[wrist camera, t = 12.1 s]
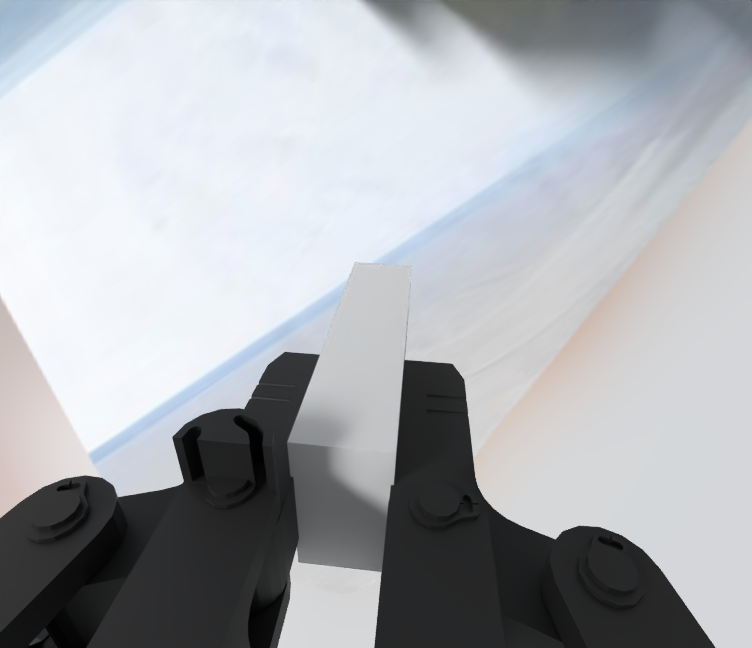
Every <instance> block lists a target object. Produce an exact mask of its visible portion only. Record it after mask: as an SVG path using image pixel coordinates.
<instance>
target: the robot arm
mask: <svg viewBox="0 0 752 648" xmlns="http://www.w3.org/2000/svg"><path fill="white" fill-rule="evenodd" d="M411 271H412V266H403V265H387V264H372V263H357V262H355V263H354V266H353V269H352V271H351V274H350V277H349V279H348V282H347V285H346V287H345V290H344V292H343V295H342V298H341V300H340V303H339V306H338V308H337V311H336V314H335V316H334V319H333V322H332V324H331V327H330V330H329V332H328V335H327V338H326V340H325V343H324V346H323V348H322V351H321V354H320V355H316V354H304V353H291V352H284V353H283V354H282V355H280V356H279V357H278V358H277V359H275V360H274V361H273V362H271V363H270V364H269V365H268V366H267V368H266V370H265V372H264V373H263V375H262V377H261V379H260V381H259V385H257V386H256V388H255V390H254V392H253V394H252V398H251V399H249V401H248V403H247V405H246V407H245V409H240V408H238V409H220V410H217V411H213V412H210V413H206V414H203V415H201V416H199V417H197V418H195V419H194V420H192V421H190V422H188V423H187V424H185V425H184V426H183V427H182V428H181V429H180V430H179V431H178V432H177V433H176V434H175V435H174V436H173V437H172V438H173V442H174V445H175V449H176V453H177V457H178V461H179V464H180V468H181V472H182V476H183V479H184V482H183V484H181V485H178V486H176V487H172V488H168V489H164V490H159V491H153V492H147V493H141V494H135V495H129V496H123V497H118V496H117V494H116V491H115V488H114V486H113V485H112V484H110V483H109V482H107V481H106V480H105V479H103V478H99V477H92V476H80V477H73V478H66V479H63V480H60V481H58V482H55V483H53V484H50V485H48V486H45V487H43V488H41V489H40V490H38V491H37V492H35V493H33V494H32V495H30V496H29V497H27V498H26V499H24V500H23V501H21V502H20V503H19V504H17V505H16V506H15V507H14V508H13V509H11V510H10V511H9V512H8V513H6V514H5V515H4V516H3V517H1V518H0V648H277V646H278V642H279V639H280V634H281V631H282V626H283V623H284V619H285V615H286V611H287V607H288V604H289V600H290V587H291V586H290V585H291V582H290V569H291V566H292V562H293V558H294V555H295V551H296V547H297V551H298V562H301V563H310V564H318V565H327V566H336V567H344V568H353V569H362V570H370V571H379V572H382V574H381V585H380V595H379V606H378V617H377V626H376V637H375V647H374V648H715V646H714V645H713V643H712V642H711V641H710V639H709V638H708V636H707V635H706V633H705V632H704V631H703V629H702V628H701V626H700V625H699V624H698V622H697V621H696V619H695V618H694V616H693V615H692V613H691V612H690V611H689V609H688V608H687V606H686V605H685V603H684V602H683V601H682V599H681V598H680V596H679V595H678V594H677V592H676V591H675V589H674V588H673V586H672V585H671V584H670V582H669V581H668V579H667V578H666V577H665V575H664V574H663V572H662V571H661V569H660V568H659V567H658V566H657V565H656V564H655V563H654V562H653V560H652V559H651V558H650V557H649V556H648V555H647V554H646V553H645V552H644V551H643V550H642V549H641V548H639V547H638V546H636V545H635V544H633V543H632V542H631V541H629V540H628V539H626V538H625V537H623V536H622V535H619V534H616V533H614V532H611V531H609V530H606V529H603V528H601V527H589V526H577V527H574V528H571V529H568V530H566V531H563V532H562V533H561V534H560V535H559V537H558V538H557V539H556V540H555V539H553V538H550V537H548V536H545V535H542V534H540V533H538V532H535V531H533V530H530V529H527V528H525V527H522V526H520V525H518V524H516V523H514V522H512V521H510V520H508V519H506V518H505V517H504V516H502V515H501V514H499V513H498V512H497V511H496V510H494V509H493V508H492V507H491V505H490V504H489V503H488V502H487V501H486V500H485V499H484V497H483V495H482V494H481V492H480V490H479V488H478V486H477V482H476V478H475V471H474V462H473V453H472V445H471V436H470V427H469V418H468V409H467V401H466V391H465V382H464V379H463V378H462V376H461V375H460V373H459V372H458V371H457V369H456V368H455V367H454V365H453V364H448V363H435V362H423V361H411V360H405V353H406V339H407V325H408V312H409V298H410V284H411Z"/></svg>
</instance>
